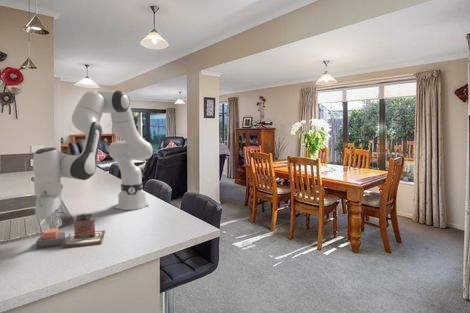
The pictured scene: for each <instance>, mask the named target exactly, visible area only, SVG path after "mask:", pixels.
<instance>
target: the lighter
mask: <svg viewBox="0 0 470 313" xmlns="http://www.w3.org/2000/svg"><path fill="white" fill-rule="evenodd" d="M75 216H76V219H73V220H72V221H73V230H74V231H73V232H74V233H73V234H75V236H74V239H85V238H93V237H95V236H96V234H95V231H96V227H95V226H96V224H95V223H96V222H95V221H96V218H95V217H94V214H93V213H92V212H91V213H84V212H83V213H81V214H76V215H75Z"/></svg>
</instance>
